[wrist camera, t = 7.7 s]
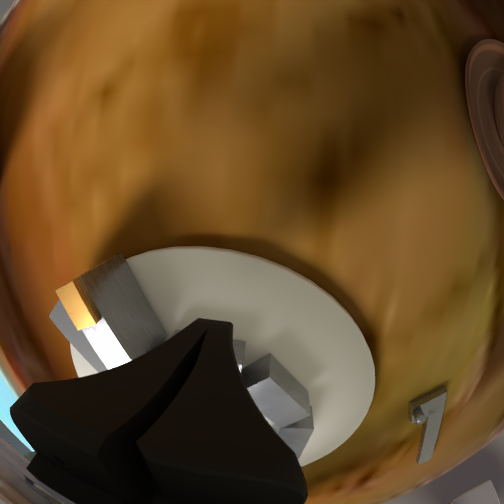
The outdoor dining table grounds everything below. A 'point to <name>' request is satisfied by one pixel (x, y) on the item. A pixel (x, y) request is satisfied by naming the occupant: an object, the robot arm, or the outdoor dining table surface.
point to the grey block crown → (151, 334)
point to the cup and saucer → (487, 105)
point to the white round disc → (257, 328)
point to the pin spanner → (428, 420)
